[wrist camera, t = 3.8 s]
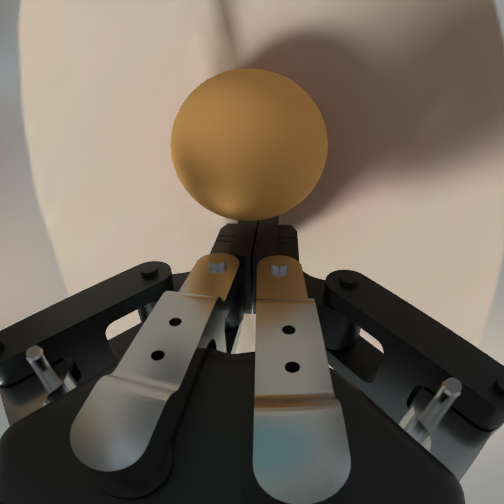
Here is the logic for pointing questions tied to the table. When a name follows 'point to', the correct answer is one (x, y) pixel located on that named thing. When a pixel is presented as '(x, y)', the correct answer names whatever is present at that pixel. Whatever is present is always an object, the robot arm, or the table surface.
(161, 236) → the table surface
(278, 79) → the ball
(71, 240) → the table surface
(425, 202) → the table surface
